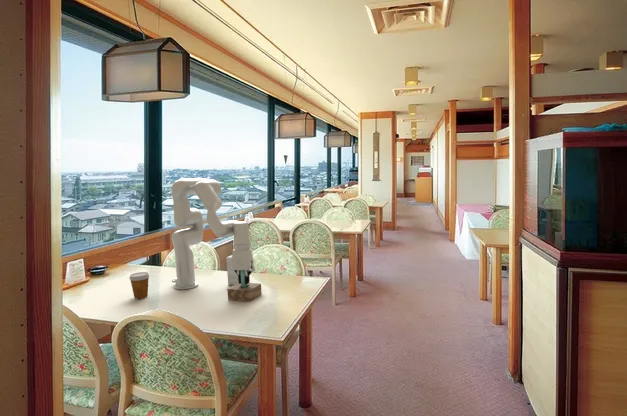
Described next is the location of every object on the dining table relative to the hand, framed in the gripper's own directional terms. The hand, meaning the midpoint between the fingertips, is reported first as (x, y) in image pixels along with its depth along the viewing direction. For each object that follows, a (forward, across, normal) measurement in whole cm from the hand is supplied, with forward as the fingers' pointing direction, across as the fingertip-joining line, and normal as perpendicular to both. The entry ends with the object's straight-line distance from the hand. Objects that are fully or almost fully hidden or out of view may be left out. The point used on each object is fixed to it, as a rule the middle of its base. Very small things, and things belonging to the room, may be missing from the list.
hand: (244, 283), depth 207 cm
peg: (+4, 0, 0) cm, 4 cm away
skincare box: (+7, -18, +20) cm, 28 cm away
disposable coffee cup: (+7, -53, -14) cm, 55 cm away
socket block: (+7, 0, 0) cm, 7 cm away
